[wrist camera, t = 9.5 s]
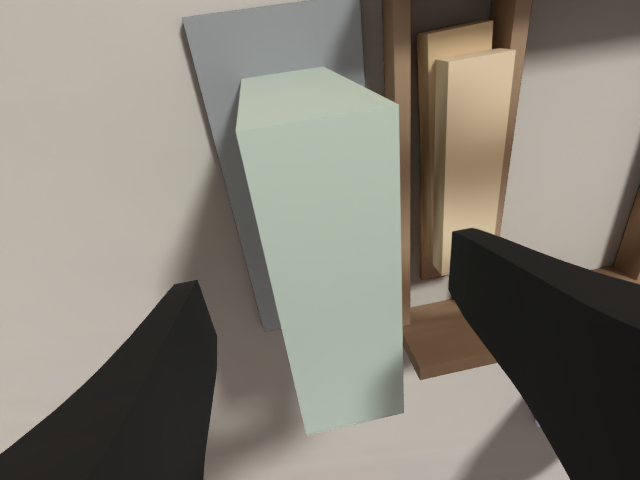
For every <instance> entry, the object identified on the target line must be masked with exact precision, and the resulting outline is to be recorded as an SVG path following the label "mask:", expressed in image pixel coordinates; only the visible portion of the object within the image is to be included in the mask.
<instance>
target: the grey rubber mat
mask: <svg viewBox="0 0 640 480" xmlns="http://www.w3.org/2000/svg"><path fill="white" fill-rule="evenodd" d="M182 20H183V24H184V27H185V31H186V35H187V39H188V43H189V47H190V50H191V54H192V58H193V62H194V66H195V70H196V73H197V77H198V81H199V85H200V89H201V93H202V96H203V100H204V104H205V108H206V112H207V115H208V119H209V123H210V127H211V131H212V135H213V138H214V142H215V146H216V150H217V154H218V158H219V161H220V165H221V169H222V173H223V177H224V181H225V184H226V188H227V192H228V196H229V200H230V203H231V207H232V211H233V215H234V219H235V223H236V226H237V230H238V234H239V238H240V242H241V246H242V249H243V253H244V257H245V261H246V265H247V269H248V272H249V276H250V280H251V284H252V288H253V292H254V295H255V299H256V303H257V307H258V311H259V314H260V318H261V322H262V326H263V330H264V332H266V331H271V330H276V329H281V324H280V320H279V316H278V311H277V307H276V303H275V298H274V294H273V290H272V286H271V281H270V277H269V273H268V268H267V264H266V260H265V256H264V251H263V247H262V243H261V238H260V234H259V230H258V225H257V221H256V217H255V213H254V208H253V204H252V200H251V195H250V191H249V187H248V182H247V178H246V174H245V170H244V165H243V161H242V157H241V152H240V148H239V144H238V139H237V135H236V123H237V115H238V106H239V97H240V88H241V79H244V78H251V77H257V76H264V75H270V74H277V73H284V72H290V71H297V70H303V69H310V68H316V67H323V66H324V67H326V68H328V69H330V70H332V71H334V72H335V73H337V74H339V75H341V76H343V77H345V78H347V79H349V80H351V81H353V82H355V83H357V84H359V85H361V86H363V87H365V79H364V61H363V43H362V25H361V7H360V0H309V1H302V2H294V3H287V4H279V5H272V6H264V7H257V8H250V9H242V10H235V11H227V12H220V13H212V14H205V15H197V16H190V17H182Z"/></svg>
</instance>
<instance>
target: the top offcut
mask: <svg viewBox="0 0 640 480" xmlns="http://www.w3.org/2000/svg"><path fill="white" fill-rule="evenodd" d="M515 54H516V50H513V49H503V48H497V49H491V50H486V51H480V52H474V53H469V54H463V55H457V56H452V57H446V58H441V59H436V89H435V148H434V208H433V265H434V267H435V268H436V269H437V270H438V272H439V273H440V274H441V276H444V275H448V274H449V272H450V257H451V241H452V231H457V230H462V229H467V228H476V229H479V230H482V231H485V232H488V233H491V234H494V235H495V228H496V219H497V211H498V202H499V193H500V185H501V176H502V167H503V158H504V150H505V141H506V132H507V124H508V115H509V106H510V97H511V89H512V80H513V71H514V63H515Z"/></svg>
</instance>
